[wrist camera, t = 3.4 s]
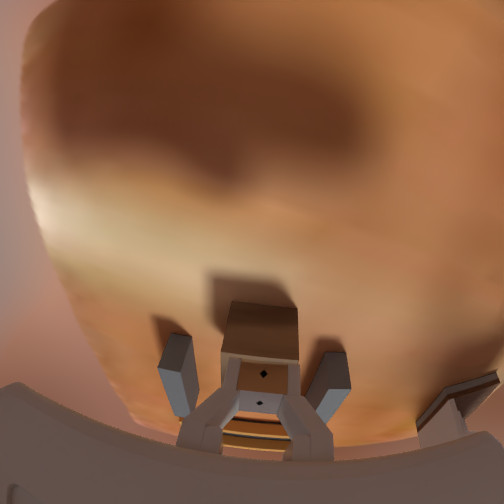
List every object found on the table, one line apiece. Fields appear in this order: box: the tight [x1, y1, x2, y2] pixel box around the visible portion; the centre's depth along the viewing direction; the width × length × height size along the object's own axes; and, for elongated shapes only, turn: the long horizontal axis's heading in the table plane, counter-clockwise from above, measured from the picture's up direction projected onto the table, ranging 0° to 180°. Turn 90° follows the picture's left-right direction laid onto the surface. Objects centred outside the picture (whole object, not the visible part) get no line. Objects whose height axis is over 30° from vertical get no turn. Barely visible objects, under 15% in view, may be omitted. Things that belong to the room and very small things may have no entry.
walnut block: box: [221, 301, 299, 388], centre depth 20 cm, size 5×5×5 cm
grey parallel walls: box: [157, 333, 351, 424], centre depth 25 cm, size 10×16×4 cm, turn 86°
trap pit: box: [179, 417, 291, 452], centre depth 34 cm, size 8×18×2 cm, turn 86°
